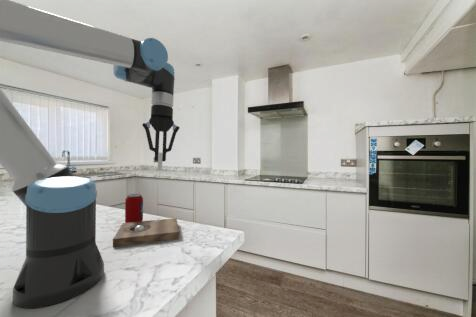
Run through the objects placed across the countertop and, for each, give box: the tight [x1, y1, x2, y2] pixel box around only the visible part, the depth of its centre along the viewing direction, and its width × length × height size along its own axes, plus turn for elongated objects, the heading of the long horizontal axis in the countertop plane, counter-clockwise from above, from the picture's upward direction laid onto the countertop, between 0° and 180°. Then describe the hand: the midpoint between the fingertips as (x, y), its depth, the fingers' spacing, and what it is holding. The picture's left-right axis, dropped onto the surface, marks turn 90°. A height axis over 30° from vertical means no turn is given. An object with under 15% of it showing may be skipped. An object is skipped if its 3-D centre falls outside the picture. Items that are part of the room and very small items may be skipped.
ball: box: [134, 225, 144, 231], centre depth 73 cm, size 4×4×4 cm
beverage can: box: [124, 193, 144, 223], centre depth 85 cm, size 7×7×12 cm
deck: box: [112, 217, 180, 248], centre depth 74 cm, size 20×16×2 cm
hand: (159, 170), depth 73 cm, fingers closed
